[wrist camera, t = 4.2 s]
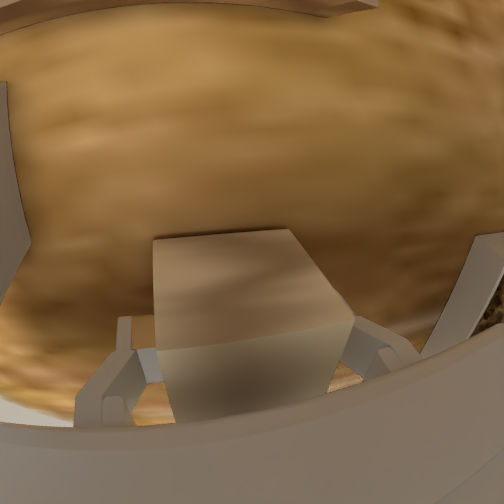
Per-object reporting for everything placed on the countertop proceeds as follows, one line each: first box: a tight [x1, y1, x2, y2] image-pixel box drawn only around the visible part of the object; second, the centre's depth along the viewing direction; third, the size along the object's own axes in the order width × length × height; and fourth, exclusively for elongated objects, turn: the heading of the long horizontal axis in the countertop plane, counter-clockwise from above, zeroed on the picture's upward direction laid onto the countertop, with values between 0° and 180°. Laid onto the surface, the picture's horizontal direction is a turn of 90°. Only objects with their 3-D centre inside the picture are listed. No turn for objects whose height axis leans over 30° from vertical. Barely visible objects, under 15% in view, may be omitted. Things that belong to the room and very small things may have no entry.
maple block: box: [153, 229, 355, 423], centre depth 11 cm, size 5×5×5 cm
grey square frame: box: [419, 232, 504, 359], centre depth 25 cm, size 24×24×3 cm
